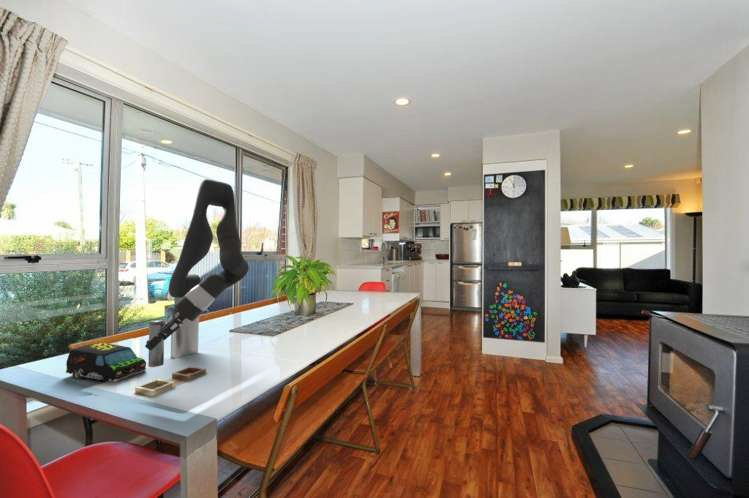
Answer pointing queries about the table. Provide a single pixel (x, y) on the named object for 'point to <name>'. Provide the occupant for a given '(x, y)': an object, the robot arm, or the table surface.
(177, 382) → the wooden trays
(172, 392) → the table surface
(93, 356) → the toy van
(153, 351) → the grey tall bar
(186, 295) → the robot arm
